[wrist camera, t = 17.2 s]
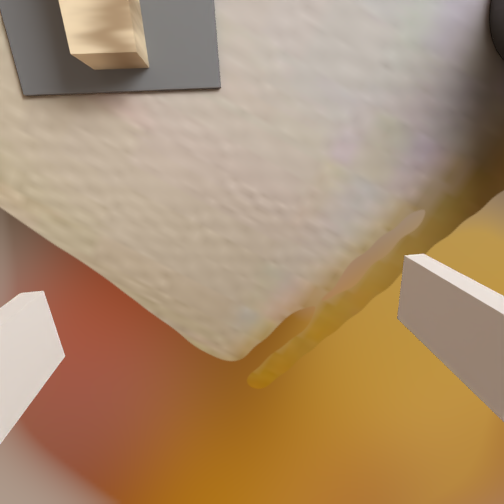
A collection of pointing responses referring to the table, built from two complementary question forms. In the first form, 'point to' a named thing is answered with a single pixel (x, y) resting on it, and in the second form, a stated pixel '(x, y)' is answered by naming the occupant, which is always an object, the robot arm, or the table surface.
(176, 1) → the mat
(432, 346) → the robot arm
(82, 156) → the table surface
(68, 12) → the beech block
